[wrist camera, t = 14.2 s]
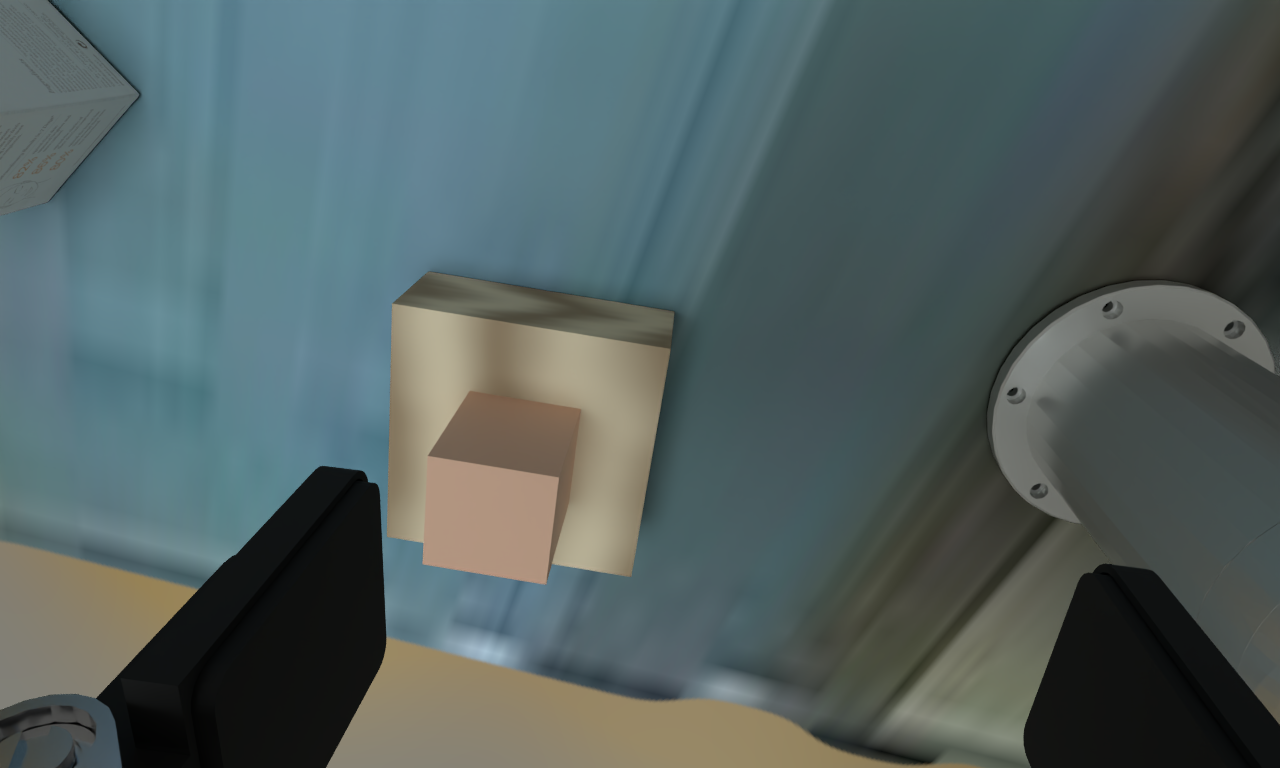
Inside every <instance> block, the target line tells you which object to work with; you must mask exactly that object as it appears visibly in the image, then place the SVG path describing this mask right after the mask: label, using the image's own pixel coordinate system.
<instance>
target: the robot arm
mask: <svg viewBox="0 0 1280 768" xmlns="http://www.w3.org/2000/svg"><path fill="white" fill-rule="evenodd" d="M1108 302H1109V304H1108V306H1107V307H1105V308H1104V309H1103V307H1104V306H1105V304H1107V303H1108ZM1013 388H1014V390H1013V391H1011V392H1009V390H1011V389H1013ZM987 433H988V439H989V442H990V446H991V450H992V454H993V456H994V458H995V460H996V462H997V464H998V466H999V468H1000V470H1001V471H1002V473H1003V475H1004V476H1005V477H1006V479H1007V480H1008V481H1009V483H1010V484H1011V485H1012V487H1013V488H1014V490H1015V491H1016V492H1017V493H1018V494H1019V495H1020V496H1022V497H1023V498H1024V499H1025V500H1026V501H1027V502H1028V503H1030V504H1031V505H1033V506H1035V507H1036V508H1038V509H1040V510H1041V511H1043V512H1045V513H1046V514H1048V515H1051V516H1053V517H1056V518H1059V519H1062V520H1065V521H1068V522H1071V523H1077V524H1082V525H1083V526H1084V527H1085V529H1086V530H1087V531H1088V533H1089V534H1090V535H1091V537H1092V538H1093V539H1094V541H1095V542H1096V543H1097V544H1098V546H1099V547H1100V548H1101V550H1102V551H1103V552H1104V554H1105V555H1106V556H1107V558H1108V559H1109V560H1110V561H1111V563H1112V564H1113V565H1112V564H1102V565H1099V566H1098V567H1097V568H1096V569H1095V570H1094V572H1093V573H1086V574H1084V575H1083V576H1082V577H1081V578H1080V580H1079V582H1078V584H1077V587H1076V590H1075V592H1074V595H1073V598H1072V600H1071V603H1070V606H1069V609H1068V611H1067V614H1066V617H1065V619H1064V622H1063V625H1062V627H1061V630H1060V633H1059V635H1058V638H1057V641H1056V643H1055V646H1054V649H1053V652H1052V654H1051V657H1050V660H1049V662H1048V665H1047V668H1046V670H1045V673H1044V676H1043V678H1042V681H1041V684H1040V687H1039V689H1038V692H1037V695H1036V697H1035V700H1034V703H1033V705H1032V708H1031V711H1030V713H1029V716H1028V719H1027V722H1026V724H1025V728H1024V748H1025V753H1026V756H1027V759H1028V761H1029V763H1030V766H1031V768H1280V377H1279V376H1278V375H1276V368H1275V360H1274V357H1273V355H1272V352H1271V350H1270V347H1269V344H1268V342H1267V339H1266V338H1265V336H1264V335H1263V333H1262V332H1261V331H1260V329H1259V328H1258V326H1257V325H1256V324H1255V322H1254V321H1253V320H1252V319H1251V318H1250V317H1249V316H1247V315H1246V314H1245V313H1244V312H1243V311H1242V310H1240V309H1239V308H1238V307H1237V306H1236V305H1234V304H1232V303H1231V302H1229V301H1227V300H1225V299H1223V298H1222V297H1220V296H1218V295H1216V294H1214V293H1212V292H1209V291H1207V290H1204V289H1201V288H1199V287H1196V286H1193V285H1191V284H1185V283H1179V282H1173V281H1167V280H1140V281H1131V282H1126V283H1121V284H1115V285H1110V286H1106V287H1103V288H1101V289H1098V290H1095V291H1092V292H1090V293H1087V294H1084V295H1082V296H1079V297H1077V298H1076V299H1074V300H1072V301H1070V302H1068V303H1067V304H1065V305H1063V306H1061V307H1059V308H1058V309H1056V310H1054V311H1053V312H1052V313H1050V314H1049V315H1048V316H1047V317H1045V318H1044V319H1043V320H1042V321H1040V322H1039V323H1038V324H1036V325H1035V326H1034V327H1033V328H1032V329H1031V330H1030V331H1029V332H1028V333H1027V334H1026V335H1025V336H1024V337H1023V338H1022V340H1021V341H1020V342H1019V343H1018V344H1017V345H1016V346H1015V347H1014V349H1013V350H1012V352H1011V353H1010V355H1009V356H1008V358H1007V359H1006V361H1005V363H1004V364H1003V366H1002V367H1001V369H1000V371H999V374H998V376H997V378H996V381H995V383H994V386H993V388H992V391H991V395H990V400H989V406H988V411H987ZM385 648H386V620H385V598H384V576H383V554H382V532H381V509H380V492H379V487H378V485H377V484H376V483H370V482H368V479H367V476H366V474H365V473H364V472H363V471H360V470H352V469H344V468H336V467H328V466H320V467H318V468H317V469H316V470H315V471H314V472H313V473H312V474H311V475H310V476H309V477H308V478H307V479H306V480H305V481H304V482H303V484H302V485H301V486H300V487H299V488H298V489H297V490H296V491H295V492H294V493H293V494H292V495H291V496H290V497H289V498H288V500H287V501H286V502H285V503H284V504H283V505H282V506H281V507H280V508H279V509H278V510H277V511H276V512H275V513H274V515H273V516H272V517H271V518H270V519H269V520H268V521H267V522H266V523H265V524H264V525H263V526H262V527H261V528H260V530H259V531H258V532H257V533H256V534H255V535H254V536H253V537H252V538H251V539H250V540H249V541H248V542H247V543H246V545H245V546H244V547H243V548H242V549H241V550H240V551H239V552H238V553H237V554H236V555H234V556H232V557H231V558H229V559H228V560H227V561H226V562H224V563H223V564H222V565H221V566H220V567H219V569H218V570H217V571H216V572H215V573H214V574H213V575H212V576H211V577H210V578H209V579H208V580H207V581H206V582H205V583H204V584H203V585H202V587H201V588H200V589H199V590H198V591H197V592H196V593H195V594H194V595H193V596H192V597H191V598H190V599H189V600H188V601H187V603H186V604H185V605H184V606H183V607H182V608H181V609H180V610H179V611H178V612H177V613H176V614H175V615H174V616H173V617H172V619H170V621H169V622H168V623H167V624H166V625H165V626H164V627H163V628H162V629H161V630H160V631H159V632H158V633H157V634H156V636H154V637H153V639H152V640H151V641H150V642H149V643H148V644H147V645H146V646H145V647H144V648H143V649H142V650H141V651H140V652H139V653H138V654H137V655H136V657H135V658H134V659H133V660H132V661H131V662H130V663H129V664H128V665H127V666H126V667H125V668H124V669H123V670H122V671H121V673H120V674H119V675H118V676H117V677H116V678H115V679H114V680H113V681H112V682H111V683H110V684H109V685H108V686H107V687H106V688H105V689H104V691H103V692H102V693H101V694H100V695H99V696H98V697H97V698H92V697H88V696H82V695H79V694H57V695H56V694H55V695H48V696H43V697H38V698H34V699H29V700H25V701H22V702H20V703H17V704H14V705H12V706H10V707H7V708H4V709H2V710H0V768H326V767H327V765H328V763H329V761H330V759H331V757H332V755H333V754H334V752H335V750H336V748H337V746H338V744H339V742H340V741H341V739H342V737H343V735H344V733H345V731H346V730H347V728H348V726H349V724H350V722H351V720H352V718H353V716H354V714H355V713H356V711H357V709H358V707H359V705H360V704H361V701H362V700H363V698H364V696H365V694H366V692H367V691H368V689H369V687H370V685H371V683H372V681H373V679H374V677H375V676H376V674H377V672H378V670H379V668H380V666H381V664H382V660H383V658H384V653H385Z"/></svg>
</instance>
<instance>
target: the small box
mask: <svg viewBox="0 0 1280 768" xmlns="http://www.w3.org/2000/svg"><path fill="white" fill-rule="evenodd" d="M138 96H139V93H138V92H137V91H136V90H135V89H134V88H133V87H132V86H131V85H130V84H129V83H128V82H127V81H126V80H125V79H124V78H123V77H122V76H121V75H120V74H119V73H118V72H117V71H116V70H115V69H114V68H113V67H112V66H111V65H110V64H109V63H108V62H107V60H106V59H105V58H104V57H103V56H102V55H101V54H100V53H99V52H98V51H97V50H96V49H95V48H94V47H93V46H92V45H91V44H90V43H89V42H88V41H87V40H86V39H85V38H84V37H83V36H82V35H81V34H80V33H79V32H78V31H77V30H76V29H75V28H74V27H73V26H72V25H71V24H70V23H69V22H68V21H67V20H66V19H65V18H64V17H63V16H62V15H61V14H60V13H59V12H58V11H57V10H56V8H55V7H54V6H53V5H52V4H51V3H50V2H49V1H48V0H0V216H1V215H5V214H8V213H12V212H15V211H19V210H22V209H26V208H29V207H33V206H36V205H40V204H44V203H47V202H48V201H49V200H50V199H51V197H52V196H53V195H54V194H55V193H56V192H57V190H58V189H59V188H60V187H61V186H62V184H63V183H64V182H65V181H66V180H67V179H68V177H69V176H70V175H71V174H72V173H73V172H74V171H75V169H76V168H77V167H78V166H79V165H80V163H81V162H82V161H83V160H84V159H85V158H86V157H87V155H88V154H89V153H90V152H91V151H92V150H93V148H94V147H95V146H96V145H97V144H98V143H99V142H100V140H101V139H102V138H103V137H104V136H105V135H106V133H107V132H108V131H109V130H110V129H111V127H112V126H113V125H114V124H115V123H116V122H117V120H118V119H119V118H120V117H121V116H122V115H123V114H124V112H125V111H126V110H127V109H128V108H129V107H130V105H131V104H132V103H133V102H134V101H135V100H136V99H137V98H138Z"/></svg>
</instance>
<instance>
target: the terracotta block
mask: <svg viewBox="0 0 1280 768" xmlns="http://www.w3.org/2000/svg"><path fill="white" fill-rule="evenodd" d="M580 413H581V409H578V408H572V407H566V406H560V405H554V404H547V403H541V402H535V401H529V400H523V399H517V398H511V397H505V396H499V395H492V394H486V393H480V392H474V391H469V392H468V394H467V396H466V397H465V399H464V400H463V402H462V403H461V405H460V406H459V408H458V410H457V411H456V413H455V414H454V416H453V417H452V419H451V420H450V422H449V423H448V425H447V427H446V428H445V430H444V431H443V433H442V434H441V436H440V437H439V439H438V441H437V442H436V444H435V445H434V447H433V448H432V450H431V451H430V453H429V455H428V458H427V480H426V502H425V525H424V547H423V564H425V565H431V566H437V567H443V568H449V569H455V570H461V571H467V572H473V573H479V574H485V575H491V576H497V577H503V578H509V579H515V580H521V581H527V582H533V583H539V584H546V583H547V579H548V576H549V572H550V569H551V565H552V562H553V558H554V554H555V551H556V547H557V544H558V540H559V537H560V533H561V530H562V526H563V523H564V519H565V516H566V512H567V508H568V505H569V498H570V490H571V483H572V475H573V467H574V460H575V452H576V444H577V436H578V429H579V421H580Z"/></svg>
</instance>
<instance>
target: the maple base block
mask: <svg viewBox="0 0 1280 768" xmlns="http://www.w3.org/2000/svg"><path fill="white" fill-rule="evenodd" d="M673 322H674V311H668V310H662V309H656V308H650V307H644V306H638V305H631V304H625V303H619V302H613V301H607V300H601V299H595V298H588V297H582V296H576V295H570V294H564V293H558V292H551V291H545V290H539V289H533V288H527V287H521V286H515V285H508V284H502V283H496V282H490V281H484V280H478V279H472V278H465V277H459V276H453V275H447V274H441V273H435V272H427V273H426V274H425V275H424V276H423V277H422V278H421V279H419V280H418V281H417V282H416V283H415V284H414V285H413V286H412V287H410V288H409V289H408V290H407V291H406V292H405V293H404V294H403V295H401V296H400V297H399V298H398V299H397V300H396V301H395V302H393V303H392V336H391V381H390V426H389V471H388V516H387V537H392V538H398V539H404V540H410V541H416V542H422V543H424V525H425V502H426V480H427V458H428V455H429V453H430V451H431V450H432V448H433V447H434V445H435V444H436V442H437V441H438V439H439V437H440V436H441V434H442V433H443V431H444V430H445V428H446V427H447V425H448V423H449V422H450V420H451V419H452V417H453V416H454V414H455V413H456V411H457V410H458V408H459V406H460V405H461V403H462V402H463V400H464V399H465V397H466V396H467V394H468V392H469V391H474V392H480V393H486V394H492V395H499V396H505V397H511V398H517V399H523V400H529V401H535V402H541V403H547V404H554V405H560V406H566V407H572V408H578V409H581V413H580V421H579V429H578V436H577V444H576V452H575V460H574V467H573V475H572V483H571V490H570V498H569V505H568V508H567V512H566V516H565V519H564V523H563V526H562V530H561V533H560V537H559V540H558V544H557V547H556V551H555V554H554V558H553V562H552V564H556V565H562V566H568V567H574V568H580V569H586V570H592V571H598V572H604V573H610V574H617V575H623V576H629V577H631V574H632V569H633V563H634V557H635V551H636V546H637V540H638V534H639V528H640V523H641V517H642V511H643V505H644V500H645V494H646V488H647V482H648V477H649V471H650V465H651V459H652V454H653V448H654V442H655V436H656V431H657V425H658V419H659V413H660V408H661V402H662V396H663V390H664V385H665V379H666V373H667V367H668V362H669V356H670V350H671V341H672V331H673Z"/></svg>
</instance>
